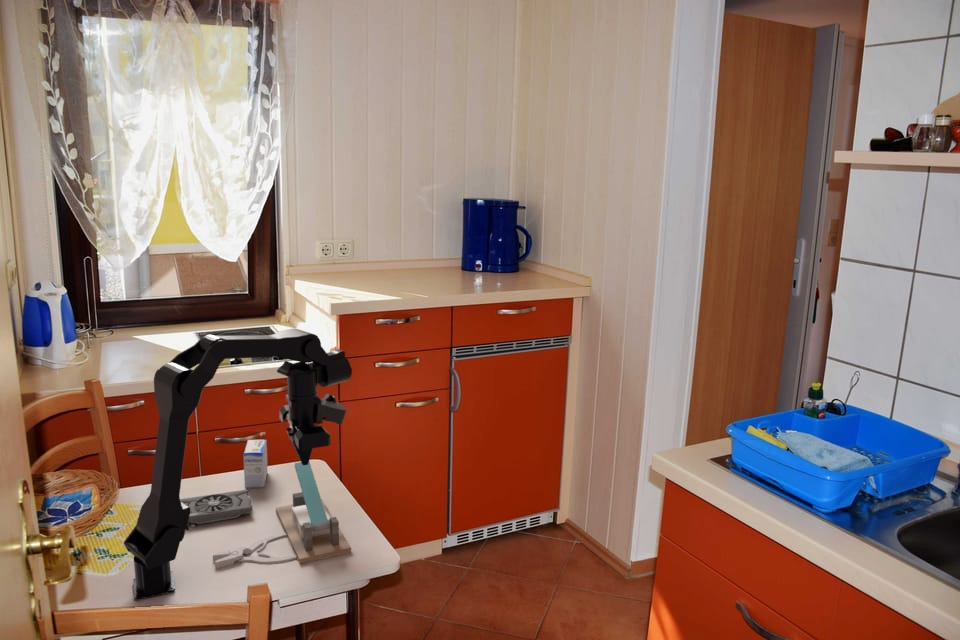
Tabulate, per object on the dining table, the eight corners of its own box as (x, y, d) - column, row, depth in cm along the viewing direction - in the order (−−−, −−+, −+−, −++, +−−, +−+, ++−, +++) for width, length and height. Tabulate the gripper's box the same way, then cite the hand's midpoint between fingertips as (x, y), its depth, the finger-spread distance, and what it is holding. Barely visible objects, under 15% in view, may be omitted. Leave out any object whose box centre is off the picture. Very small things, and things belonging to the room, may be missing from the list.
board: (351, 552, 145) (350, 524, 143) (299, 563, 140) (298, 535, 139) (322, 503, 164) (321, 477, 162) (275, 511, 159) (274, 486, 158)
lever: (329, 529, 144) (330, 525, 144) (313, 533, 143) (313, 529, 142) (309, 464, 156) (309, 460, 156) (293, 466, 155) (294, 462, 154)
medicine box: (248, 473, 177) (246, 439, 175) (268, 472, 178) (266, 438, 176) (244, 488, 170) (242, 453, 168) (264, 487, 170) (263, 452, 168)
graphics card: (167, 524, 147) (165, 496, 158) (168, 541, 148) (166, 512, 159) (255, 510, 154) (248, 484, 165) (255, 526, 155) (248, 500, 166)
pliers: (300, 552, 142) (218, 571, 135) (300, 559, 142) (218, 579, 135) (287, 528, 150) (209, 545, 144) (287, 535, 151) (209, 552, 144)
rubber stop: (312, 515, 158) (311, 494, 157) (295, 518, 157) (294, 497, 156) (310, 510, 160) (309, 490, 159) (293, 514, 159) (292, 493, 158)
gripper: (355, 401, 144) (356, 476, 148) (329, 374, 160) (331, 441, 164) (298, 409, 139) (300, 486, 143) (277, 380, 156) (280, 449, 159)
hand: (305, 464), depth 152 cm, fingers closed
